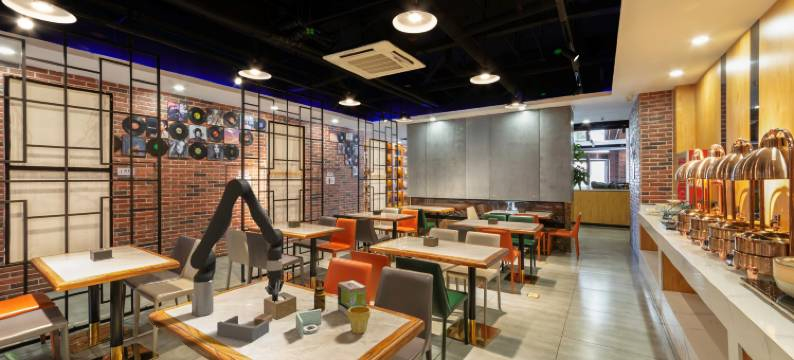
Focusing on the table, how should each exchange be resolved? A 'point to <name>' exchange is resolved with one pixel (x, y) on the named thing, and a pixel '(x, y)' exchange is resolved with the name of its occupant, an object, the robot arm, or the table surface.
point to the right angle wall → (308, 321)
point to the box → (241, 330)
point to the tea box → (350, 295)
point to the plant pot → (358, 318)
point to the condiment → (319, 299)
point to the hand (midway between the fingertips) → (274, 301)
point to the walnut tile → (262, 319)
